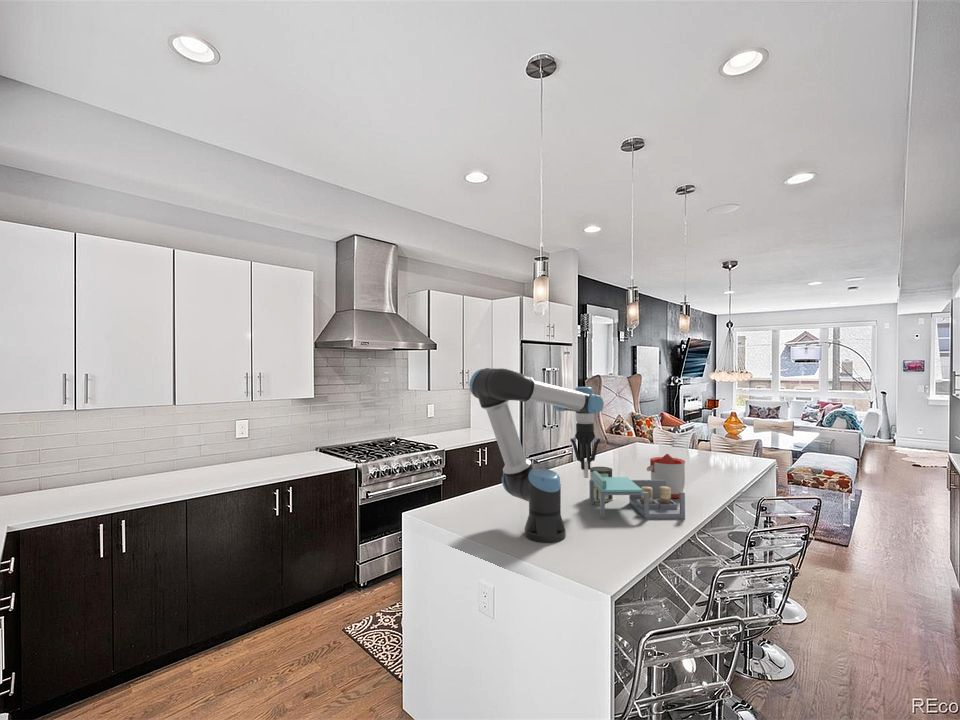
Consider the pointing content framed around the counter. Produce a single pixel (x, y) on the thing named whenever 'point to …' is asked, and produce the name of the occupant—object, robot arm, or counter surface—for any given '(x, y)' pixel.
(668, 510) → the frame
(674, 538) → the counter surface
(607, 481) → the lid
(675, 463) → the citrus juicer
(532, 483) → the robot arm
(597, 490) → the coffee can
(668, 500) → the tan wooden cylinder
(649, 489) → the tan rounded cylinder
